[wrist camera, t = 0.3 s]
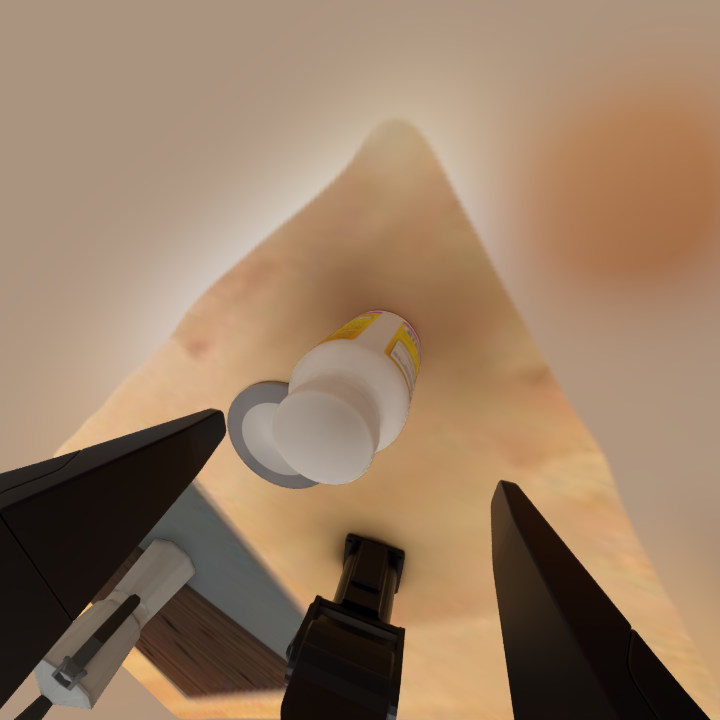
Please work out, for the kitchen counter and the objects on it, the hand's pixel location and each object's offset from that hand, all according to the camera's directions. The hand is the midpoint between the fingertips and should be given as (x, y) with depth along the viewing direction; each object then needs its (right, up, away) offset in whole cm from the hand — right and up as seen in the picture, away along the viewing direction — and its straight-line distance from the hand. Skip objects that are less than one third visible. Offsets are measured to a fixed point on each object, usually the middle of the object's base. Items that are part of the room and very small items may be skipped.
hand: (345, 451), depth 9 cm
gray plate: (-7, -5, +21) cm, 23 cm away
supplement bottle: (+2, +4, +15) cm, 16 cm away
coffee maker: (-28, -27, +36) cm, 53 cm away
